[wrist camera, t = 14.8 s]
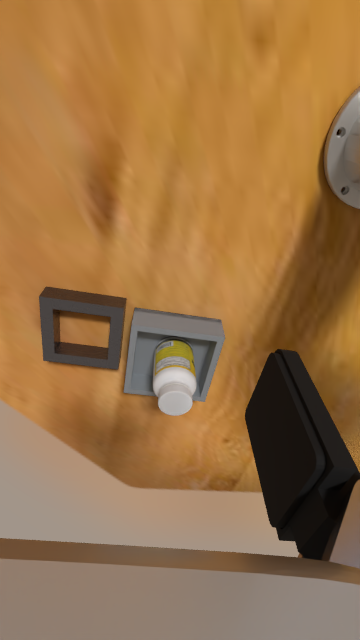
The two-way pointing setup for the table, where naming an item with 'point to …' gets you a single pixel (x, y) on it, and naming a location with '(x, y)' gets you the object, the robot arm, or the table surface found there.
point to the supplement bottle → (174, 375)
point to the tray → (161, 325)
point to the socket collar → (80, 303)
